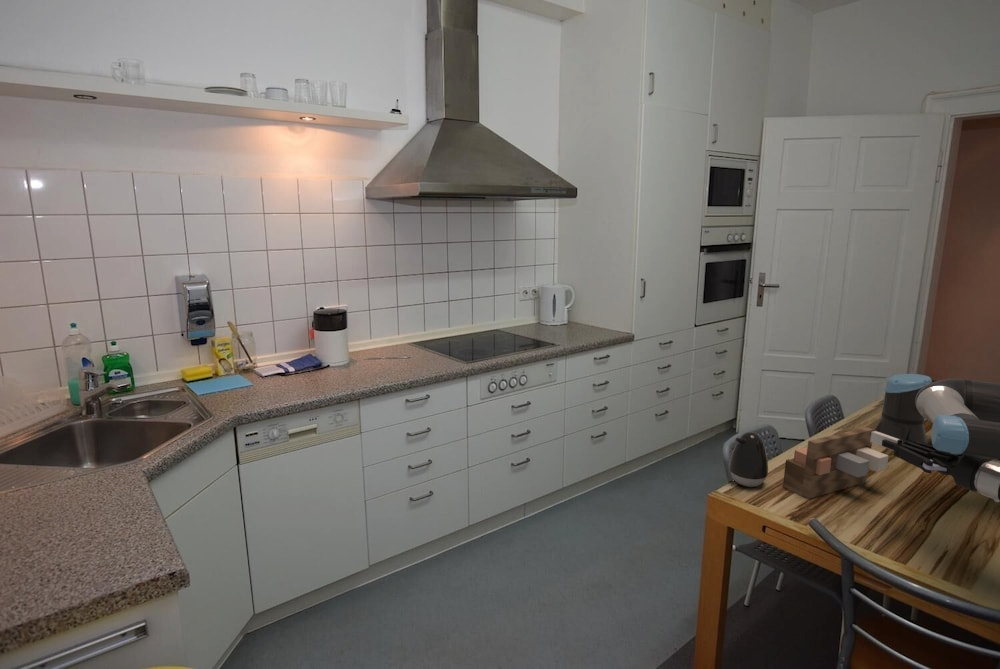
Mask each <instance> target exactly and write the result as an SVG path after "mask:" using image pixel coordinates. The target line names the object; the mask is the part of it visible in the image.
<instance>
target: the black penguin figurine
mask: <svg viewBox="0 0 1000 669" xmlns="http://www.w3.org/2000/svg"><path fill="white" fill-rule="evenodd" d="M735 441H736V444H735V446H734V448H733V450H732V452H731V456H730V459H729V463H728V470H729V472H730V476H731V477H732V479H733V480H734V481H735V483H737V484H739V485H741V486H744V487H747V488H753V487H758V486H760V485H763V483H764V481H765V480H766V478H767V477H768V474H769V462H768V455H767V450H766V447H765V444H764V441H763V439H762V438H761V436H760V435H759V434H757V433H756V432H753V431H748V432H745V433H743V434H742V435H741V436H740V437H736V438H735Z"/></svg>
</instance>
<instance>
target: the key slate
mask: <svg viewBox="0 0 1000 669" xmlns="http://www.w3.org/2000/svg"><path fill="white" fill-rule="evenodd" d="M835 468H837V469H839V470H841V471H844V472H846V473H848V474H850V475H853V476H855V477H857V478H858V477H861V476H865V475H867V476H868V473H869V460H866V459H864V458H861V457H859V456H856V455H854V454H851V453H848V452H846V451H845V452H841V453H837V458H836V466H835Z"/></svg>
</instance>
